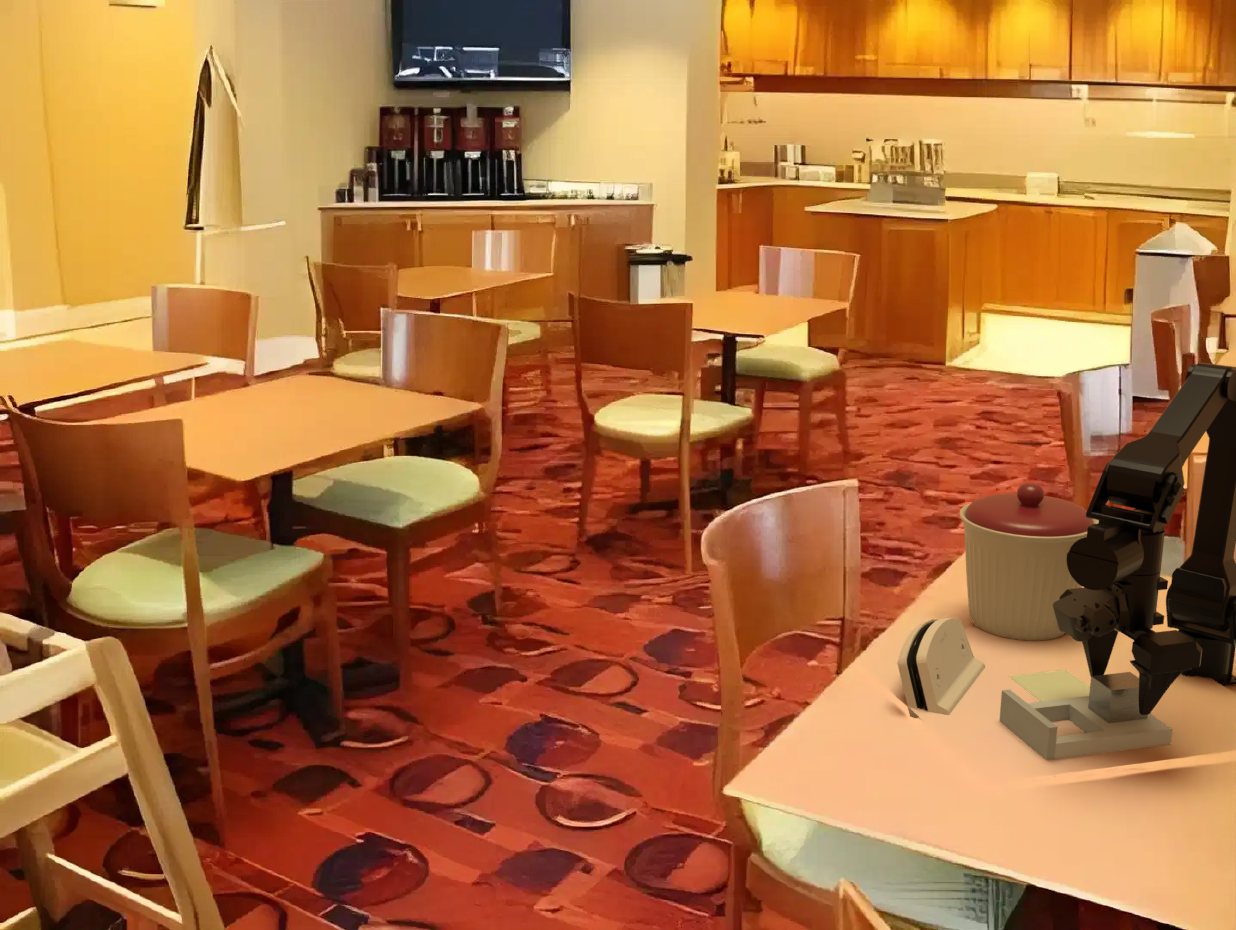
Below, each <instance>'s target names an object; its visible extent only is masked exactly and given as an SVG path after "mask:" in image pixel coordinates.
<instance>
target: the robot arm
mask: <svg viewBox="0 0 1236 930" xmlns="http://www.w3.org/2000/svg"><path fill="white" fill-rule="evenodd" d="M1185 375H1186V376H1185V379H1184V383H1183V384H1182V385H1181V387H1180V388H1179V389H1178V390H1177V392H1176V394H1175V395H1174V397H1172V399H1171V401H1170V402H1169V403H1168V405H1167V406H1166V407H1165V409H1164V411H1163V412H1162V414H1161V415H1160V416H1159V418H1158V419H1157V420H1156V422H1155V423H1154V425H1153V426H1152V428H1151V429H1149V431H1148V433H1147V434H1146V435H1145V436H1144V437H1141V438H1138V439H1135V440H1132V441H1131V442H1128V443H1126V444H1125V445H1124V446H1123V447H1122V448H1121V449H1119V451H1117V453H1116V454H1115V455H1114V456H1113V457H1112V458H1111V459H1110V460H1109V462H1107V463H1106V465H1105V466H1104V468H1103V471H1102V473H1101V475H1100V478H1099V480H1098V482H1097V485H1096V486H1095V487H1096V488H1095V491H1094V493H1093V495H1092V498H1091V500H1090V501H1089V502H1090V503H1089V505H1088V508H1087V510H1086V511H1087V512H1086V517H1087V518H1091V519H1096V520H1099V523H1098V524H1092V525H1090V526H1088V529H1087V536H1085V537H1083V538H1081V539H1079V540H1078V541H1076V542H1075V543H1074V544H1073V545H1072V546H1071V548H1070V550H1069V552H1068V553H1067V558H1066V559H1067V567H1068V570H1069V573H1070V574H1071V576H1072V578H1073V579H1074V580H1075V581H1076V582H1077V583H1078V584H1079V585H1081V586H1082V588H1075V589H1067V590H1066V591H1065V592H1064V593H1063V594H1062V595H1061V596H1060V598H1059V600H1058V601H1056V602H1054V603H1053V609H1054V612H1055V616H1056V620H1057V624H1058V627H1059V630H1060V631H1062V632H1065V634H1066V635H1068V636H1069V637H1071V639H1072V640H1074V641H1076V642H1081V643H1082V647H1083V650H1084V654H1085V659H1086V663H1087V667H1088V670H1089V675H1090V677H1091V676H1097V675H1105V674H1106V671H1107V668H1108V664H1109V662H1110V658H1111V655H1112V653H1113V650H1114V646H1115V643H1116V639H1117V638H1118V633H1121V634H1123V635H1125V636H1127V637H1128V638H1130V640H1133V642H1132V645H1131V646H1132V647H1131V653H1132V655H1133V658H1134V659H1132V660H1129V663H1130V664H1131V665H1132V666H1133V667H1134V668H1135V670H1137V672H1138V678H1139V713H1140V714H1141V715H1148V714H1152V711H1153V710H1154V709H1155V707H1156V706H1157V705H1158V703H1159V702H1160V701H1161V699H1162V698H1163V696H1164V695H1165V694H1166V692H1167V691H1168V690H1169V688H1170V686H1171V685H1172V684H1174V682H1175V681H1176V680H1177V678H1179V676H1180V675H1182V676H1183V677H1190V678H1191V677H1198V678H1204V679H1210V680H1212V681H1214V682H1216V683H1218V684H1219V685H1220V686H1222V687H1225V686H1234V685H1236V676H1235V675H1233V670H1234V664H1235V655H1236V561H1235V558H1234V557H1235V549H1236V366H1231V365H1222V364H1214V363H1208V362H1207V363H1206V362H1198V363H1194V364H1191V365H1190V366H1189V368H1188V370H1187V371H1186V374H1185ZM1205 433H1206V435H1207V437H1208V446H1207V452H1206V457H1205V458H1206V459H1205V465H1204V473H1203V477H1202V478H1203V479H1202V485H1201V491H1200V498H1199V499H1200V500H1199V504H1198V510H1197V516H1196V524H1195V529H1194V536H1193V544H1192V549H1191V554H1190V555H1189V556H1188V558H1187V559H1186V560H1185V561H1184V562H1183V563H1182V564H1181V565H1180V567H1176V568H1175V569H1174V570H1173V572H1172V573H1171V583H1170V584H1169V580H1167V579H1166V578H1164V577H1162V576H1161V571H1162V560H1163V553H1164V552H1163V551H1164V544H1165V536H1166V535H1165V532H1166V526H1165V525H1169V523H1170V522H1171V520H1172V516H1173V515H1174V513H1175V511H1176V508H1177V506H1178V505H1179V502H1180V500H1181V499H1182V497H1183V494H1184V490H1185V487H1184V486H1185V477H1184V471H1183V467H1184V465H1185V463H1186V461H1187V460H1188V458H1189V457H1190V455H1191V454H1192V452H1193V451H1194V449H1195V448H1196V446H1197V445H1198V443H1199V442H1200V441H1201V439H1202V438H1203V437H1204V435H1205ZM1108 501H1109V502H1110V504H1111V505H1110V504H1109V505H1108V504H1107V503H1108ZM1112 504H1114V505H1117V506H1113V505H1112ZM1118 506H1121V507H1118ZM1122 506H1123V507H1127V508H1130V509H1126V508H1123V507H1122ZM1131 508H1132V510H1131ZM1165 590H1167V592H1166V595H1165V607H1166V608H1165V609H1166V622H1167V623H1166V624H1167V628H1169V629H1174V630H1165V631H1164V630H1163V631H1154V630H1153V626H1159V625H1164V623H1165V615H1163V613H1160V612H1159V611H1157V608H1158V597H1159V591H1165Z"/></svg>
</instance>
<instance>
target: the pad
mask: <svg viewBox="0 0 1236 930" xmlns="http://www.w3.org/2000/svg"><path fill="white" fill-rule="evenodd" d="M1008 677H1009V678H1010V679H1011V680H1013V681H1014V682H1015V683H1016V684H1018V685H1019V686H1020V687H1022V688H1023V689H1024V690H1026V691H1027V692H1028V693H1030V694H1031V695H1032V697H1034V698H1036V699H1037V700H1039V702H1041V701H1049V700H1058V699H1066V698H1075V697H1083V696H1089V693H1090V685H1088V684H1087V683H1086V682H1084V681H1082V680H1081V679H1079V677H1077V676H1076V675H1074V674H1073V673H1071V672H1069V670H1067V669H1061V670H1053V671H1043V672H1034V673H1026V674H1018V675H1017V674H1016V675H1009V676H1008Z"/></svg>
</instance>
